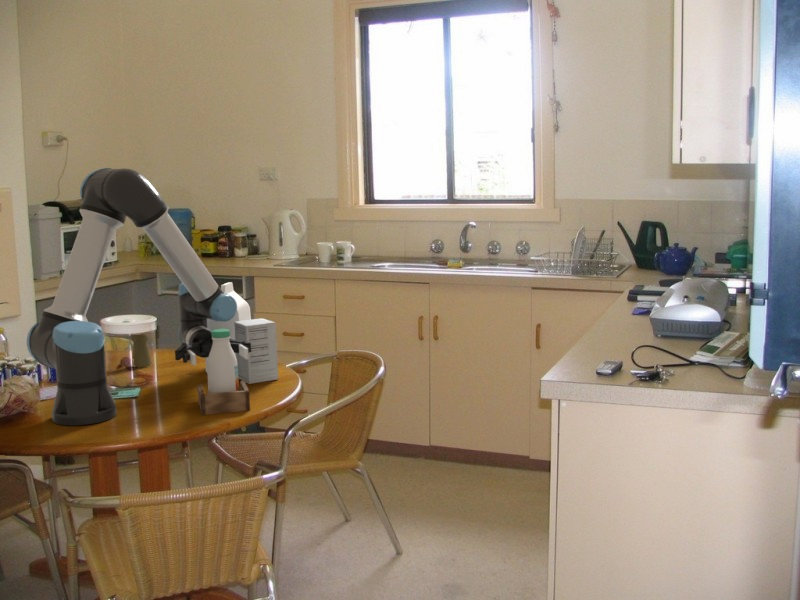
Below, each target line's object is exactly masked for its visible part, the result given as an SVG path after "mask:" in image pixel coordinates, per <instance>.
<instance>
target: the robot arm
mask: <svg viewBox="0 0 800 600" xmlns="http://www.w3.org/2000/svg"><path fill="white" fill-rule="evenodd" d="M79 195H80V198H81V201H82V202H81V203H80V208H79V213H80V215H81V217H82V220H81V223H80V227H79V229H78V231H77V234H76V238H75V240H74V243H73V246H72V249H71V252H70V255H69V257H68V260H67V262H66V266H65V269H64V271H63V273H62V276H61V279H60V283H59V285H58V288H57V291H56V295H55V297H54V300H53V302H52V304H51V305H50V306H49V307H47V308H44V309H43V311H42V315H41V317H40V320H39V321H38V322H36V323H34V324H33V326H32V327H30V329H29V331H28V333H27V336H26V347H27V351H28V353H29V355H31V357H32V358H33V360H35V361H36V362H38V363H39V364H41V365H42V366H45V367H46V368H47V367H49V368H52V369H54V370H55V372H56V373H55V374H56V384H57V385H56V386H57V388H56V389H57V392H56V394H55V397H54V398H55V399H54V403H53V407H52V410H51V418H52V422H53V423H55V424H57V425H61V426H83V425H84V426H86V425H93V424H98V423H102V422H105V421H108V420H111V419H113V418H114V417H116V416H117V404H116V402H115V400H114V397H113V395H112V393H111V390H110V388H109V386H108V380H107V364H106V361H107V360H106V348H105V346H106V345H105V342H106V341H105V340H106V339H105V337H104V331H103V328H102V326H101V325H100V324H98V323H96V322H95V323H94V322H92V321H89V320H88V318H87V313H88V310H89V306H90V304H91V301H92V299H93V295H94V293H95V290H96V287H97V283H98V281H99V278H100V276H101V272H102V269H103V266H104V264H105V261H106V259H107V256H108V253H109V250H110V247H111V244H112V241H113V238H114V236H115V233H116V230H118V229H119V228H121V227H124V225H125V222H126V219H127V218H128V219H130V220H131V221H132V223H133V224H134V226H135V227H136V228H138V229H141V230H143V231H144V233H145V234H146V235H147V237H148V238H149V239H150V241H151V243H153V245H154V246H155V248H156V249H157V250H158V252H159V253H160V254H161V256H162V257H163V259H164V260H165V261H166V263H167V264H168V265H169V266H170V268H171V270H172V271H173V272H174V273H175V275H176V276H177V278H178V279H179V281H180V282H181V283H179V284H178V296H177V297H178V306H179V317H180V318H179V320H180V326H179V329H178V338H179V341H181V344H180V346H179V347H178V348H177V349H175V350H174V359H175V361H181V360H182V363H183V364H186V363H188V362H189V363H190V364H191V365H192V366H197V357H199V358H202V359H203V358H204V359H206V357H209V354H210V351H211V348H212V344H213V339H212V335H211V331H210V330H208V329H207V319H211V320H214V321H224V322H225V321H229V320H231V319H232V318H233V317H234V316H235V314H236V311H237V303H236V301H235V299H234V298H233V297H232V296H229V295H228V294H224V293H223V291H222V290H221V286H219V284H218V283H217V282H216V280H215V279H214V277H213V276H212V274H211V273H210V272H209V270H208V268H207V267H206V266H205V264H204V263H203V261H202V260H201V258H200V257H199V256H198V254H197V253H196V252H195V250H194V248H193V247H192V246H191V244H190V243H189V241H188V240H187V238H186V237H185V236H184V234H183V232H182V231H181V230H180V228H179V227H178V225H177V224H176V223H175V221H174V220H173V218H172V216H170V214H169V213H168V212H169V205H168V204H167V202H166V201H165V200H164V198H163V197H162V195H161V194H160V192H159V191H158V190H157V189H156V188H155V186H154V185H153V184H152V183H151V182H150V181H149V180H148V178H146V177H145V176H144V175H143V174H142V173H140V172H138V171H137V170H134V169H132V168H111V167H105V168H100V169H97V170H96V169H95V170H94V171H91V172H90V173H88V174H87V175H86V176H85V177H84V179H83V180H82V183H81V184H80V189H79ZM229 342H230V345H231V347H232V349H233V351H234V353H239V355H241V356H242V357H243V358H245V359H249V357H248V354H249V352H251V343H250V342H245V341H238V340H233V339H230V338H229Z"/></svg>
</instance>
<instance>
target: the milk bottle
mask: <svg viewBox="0 0 800 600" xmlns="http://www.w3.org/2000/svg"><path fill="white" fill-rule="evenodd" d="M211 335H212V339H213V344H212V348H211V351H210V354H209V357H208V362H207V387H208V392H207V393H208V394H212V393H223V392H234V391H240V384H239V380H240V379H239V378H238V365H237V359H236V356H235V353H234V351H233V349H232V347H231V345H230V342H229V338H230V331H229V330H228V329H215V330H212V332H211Z"/></svg>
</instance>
